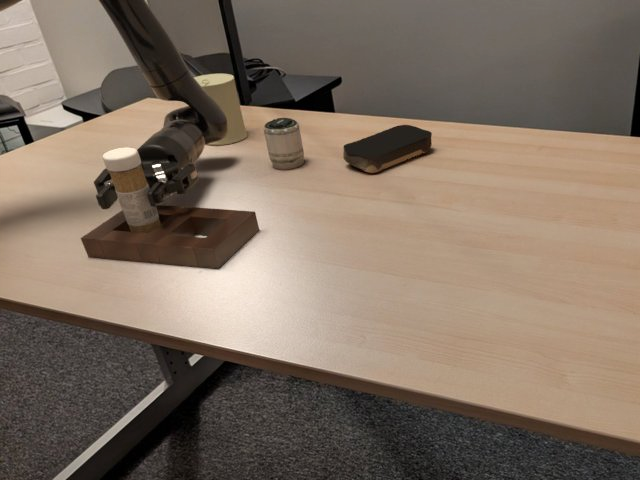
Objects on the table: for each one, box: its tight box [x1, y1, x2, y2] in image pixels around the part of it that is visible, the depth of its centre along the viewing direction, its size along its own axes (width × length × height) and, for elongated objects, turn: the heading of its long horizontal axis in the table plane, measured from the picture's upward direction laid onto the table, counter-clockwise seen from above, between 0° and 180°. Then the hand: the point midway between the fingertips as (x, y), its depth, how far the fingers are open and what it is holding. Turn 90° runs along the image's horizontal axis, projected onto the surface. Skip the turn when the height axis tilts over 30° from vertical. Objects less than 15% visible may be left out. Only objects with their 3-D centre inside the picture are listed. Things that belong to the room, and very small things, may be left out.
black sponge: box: [343, 124, 433, 174], centre depth 119 cm, size 16×8×4 cm, turn 136°
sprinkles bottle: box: [102, 147, 161, 233], centre depth 93 cm, size 5×5×13 cm
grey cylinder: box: [262, 117, 305, 170], centre depth 118 cm, size 6×6×8 cm
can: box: [193, 73, 248, 146], centre depth 130 cm, size 9×9×12 cm
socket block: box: [80, 204, 260, 270], centre depth 95 cm, size 21×12×3 cm, turn 76°
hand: (127, 201), depth 91 cm, fingers open, 6 cm apart
